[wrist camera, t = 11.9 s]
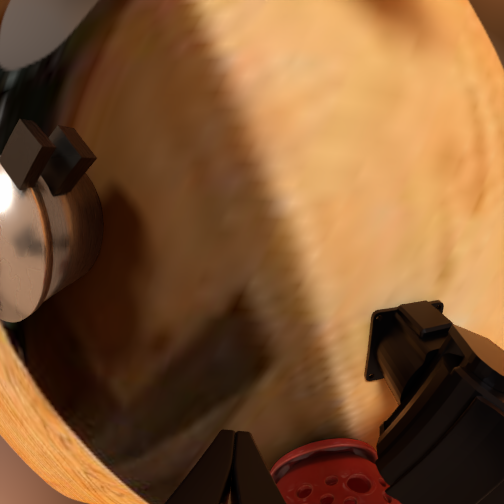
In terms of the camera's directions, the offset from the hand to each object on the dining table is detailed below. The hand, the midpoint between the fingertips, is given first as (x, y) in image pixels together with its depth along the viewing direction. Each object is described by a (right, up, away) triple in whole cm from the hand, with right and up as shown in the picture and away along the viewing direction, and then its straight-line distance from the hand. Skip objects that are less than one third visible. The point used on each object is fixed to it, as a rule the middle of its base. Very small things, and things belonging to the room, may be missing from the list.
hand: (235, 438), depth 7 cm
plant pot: (+8, -18, +18) cm, 26 cm away
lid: (-18, +4, +6) cm, 19 cm away
